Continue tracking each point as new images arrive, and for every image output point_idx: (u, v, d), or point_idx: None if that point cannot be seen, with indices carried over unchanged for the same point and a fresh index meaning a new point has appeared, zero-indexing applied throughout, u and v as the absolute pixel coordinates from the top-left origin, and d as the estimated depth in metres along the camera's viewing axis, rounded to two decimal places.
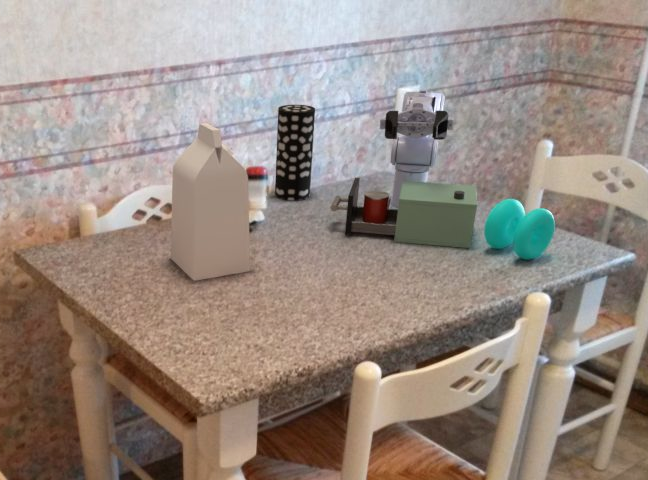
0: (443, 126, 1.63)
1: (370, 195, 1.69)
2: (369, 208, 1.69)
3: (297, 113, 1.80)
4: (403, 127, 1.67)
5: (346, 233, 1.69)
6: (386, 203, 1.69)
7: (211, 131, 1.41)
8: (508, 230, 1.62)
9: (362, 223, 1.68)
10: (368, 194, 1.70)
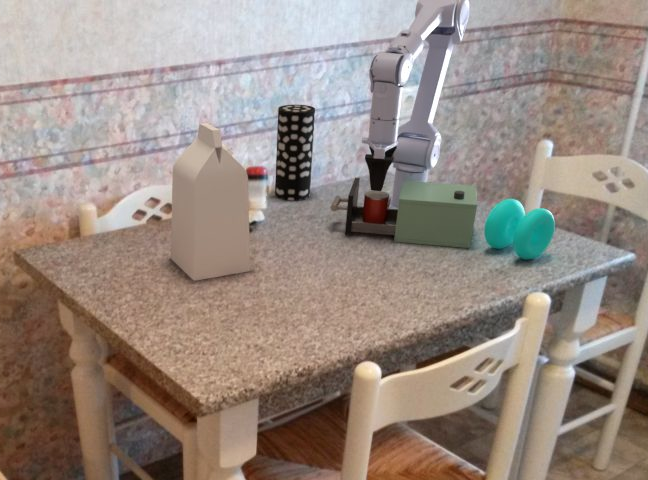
0: None
1: (370, 195, 1.69)
2: (369, 208, 1.69)
3: (297, 113, 1.80)
4: None
5: (346, 233, 1.69)
6: (386, 203, 1.69)
7: (211, 131, 1.41)
8: (508, 230, 1.62)
9: (362, 223, 1.68)
10: (368, 194, 1.70)
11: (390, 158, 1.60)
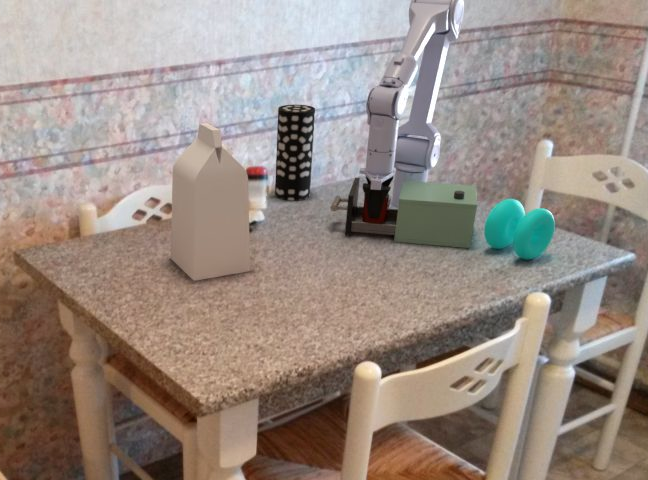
0: None
1: None
2: None
3: (297, 113, 1.80)
4: None
5: (346, 233, 1.69)
6: (386, 203, 1.69)
7: (211, 131, 1.41)
8: (508, 230, 1.62)
9: (362, 223, 1.68)
10: None
11: (387, 187, 1.65)
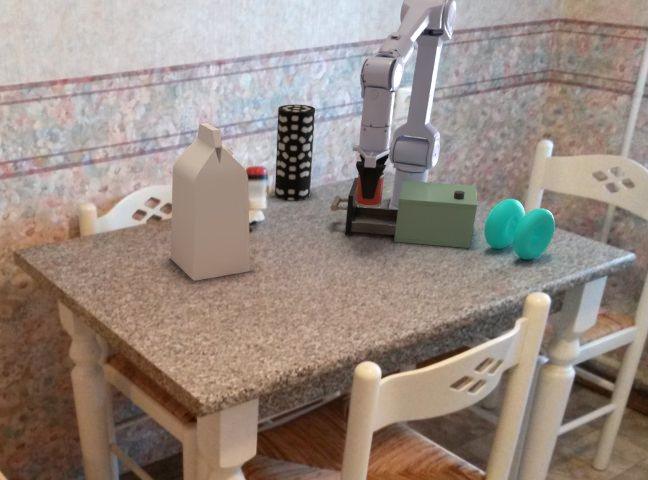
0: None
1: None
2: None
3: (297, 113, 1.80)
4: None
5: (346, 233, 1.69)
6: (381, 183, 1.59)
7: (211, 131, 1.41)
8: (508, 230, 1.62)
9: (362, 223, 1.68)
10: None
11: (382, 165, 1.54)
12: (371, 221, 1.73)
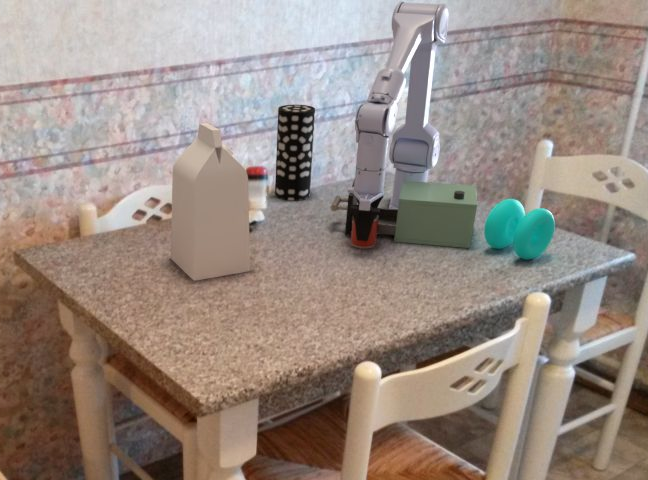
0: None
1: None
2: None
3: (297, 113, 1.80)
4: None
5: (346, 233, 1.69)
6: (375, 225, 1.62)
7: (211, 131, 1.41)
8: (508, 230, 1.62)
9: None
10: None
11: (376, 209, 1.57)
12: None
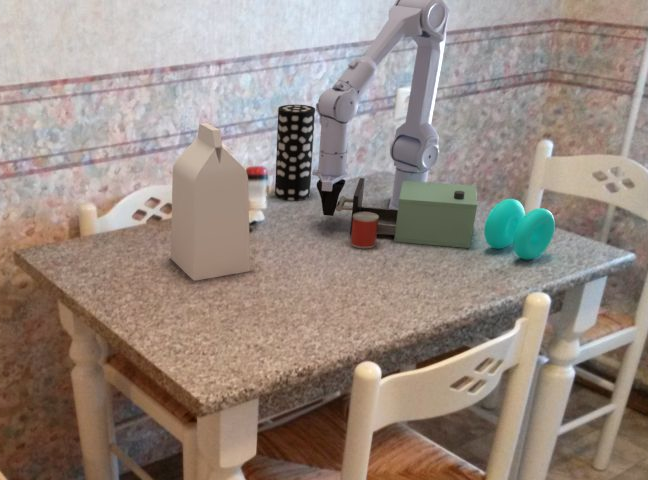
0: None
1: (359, 216, 1.62)
2: (358, 230, 1.62)
3: (297, 113, 1.80)
4: None
5: (351, 233, 1.68)
6: (375, 225, 1.62)
7: (211, 131, 1.41)
8: (508, 230, 1.62)
9: None
10: (356, 215, 1.63)
11: (340, 185, 1.69)
12: None
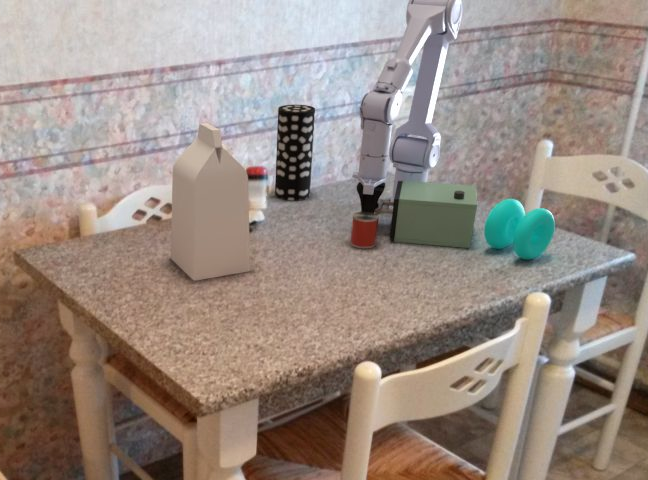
0: None
1: (359, 216, 1.62)
2: (358, 230, 1.62)
3: (297, 113, 1.80)
4: None
5: (391, 237, 1.67)
6: (375, 225, 1.62)
7: (211, 131, 1.41)
8: (508, 230, 1.62)
9: None
10: (356, 215, 1.63)
11: (381, 188, 1.67)
12: None
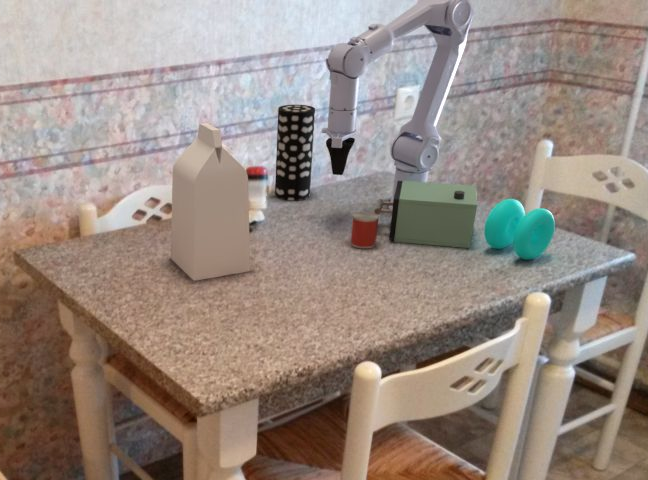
0: None
1: (359, 216, 1.62)
2: (358, 230, 1.62)
3: (297, 113, 1.80)
4: None
5: (390, 237, 1.67)
6: (375, 225, 1.62)
7: (211, 131, 1.41)
8: (508, 230, 1.62)
9: None
10: (356, 215, 1.63)
11: (350, 143, 1.67)
12: None
